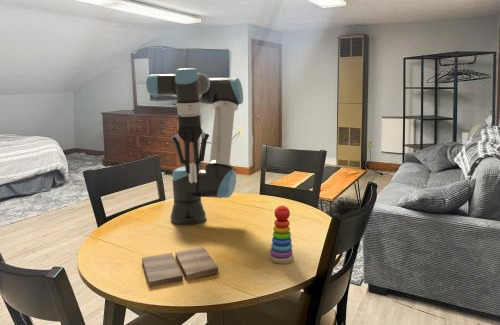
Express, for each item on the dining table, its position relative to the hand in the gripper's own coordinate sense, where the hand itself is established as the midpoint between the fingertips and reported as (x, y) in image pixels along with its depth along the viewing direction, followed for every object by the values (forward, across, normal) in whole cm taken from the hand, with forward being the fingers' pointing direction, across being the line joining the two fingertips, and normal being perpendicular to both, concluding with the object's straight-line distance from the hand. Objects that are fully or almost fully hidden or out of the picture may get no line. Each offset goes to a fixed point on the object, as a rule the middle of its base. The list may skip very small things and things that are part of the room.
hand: (193, 181), depth 148 cm
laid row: (+24, -15, -15) cm, 32 cm away
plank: (+24, -4, -15) cm, 29 cm away
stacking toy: (+25, +23, -23) cm, 41 cm away
